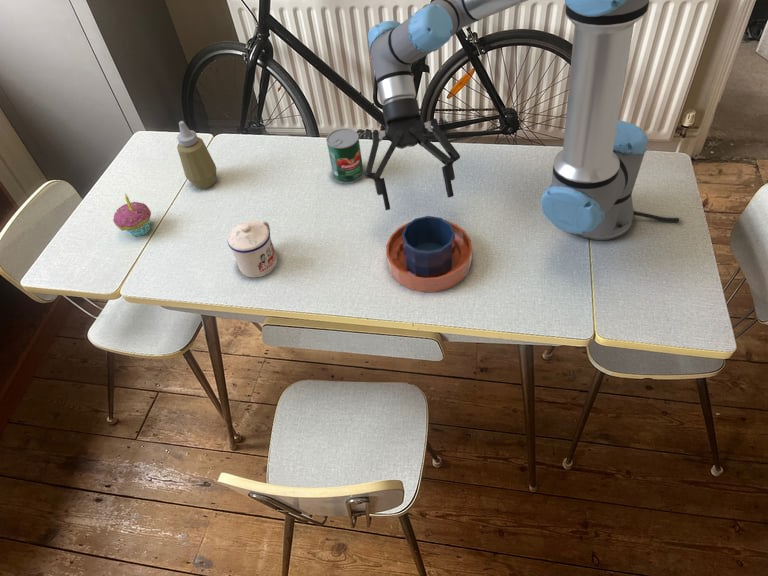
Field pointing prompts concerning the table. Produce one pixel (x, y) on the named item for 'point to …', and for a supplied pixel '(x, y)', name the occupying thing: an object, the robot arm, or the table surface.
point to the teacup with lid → (253, 248)
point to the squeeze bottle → (195, 158)
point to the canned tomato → (345, 155)
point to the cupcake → (133, 218)
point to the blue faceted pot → (428, 247)
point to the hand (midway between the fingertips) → (419, 203)
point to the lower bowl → (434, 283)
